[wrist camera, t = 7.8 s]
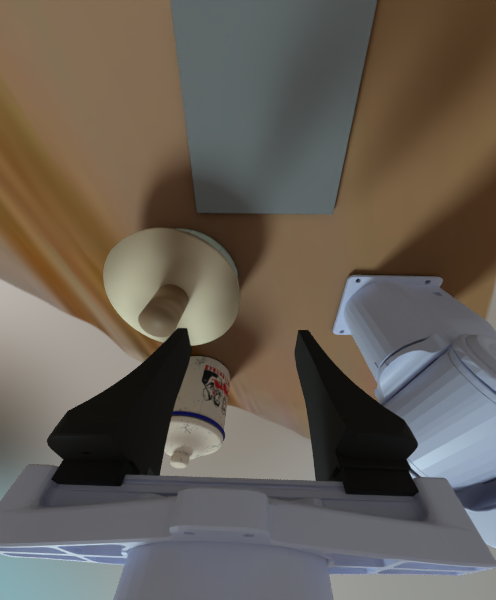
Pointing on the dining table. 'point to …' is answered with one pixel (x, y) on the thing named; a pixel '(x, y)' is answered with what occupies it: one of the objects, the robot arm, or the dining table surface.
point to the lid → (172, 285)
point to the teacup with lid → (198, 412)
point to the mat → (269, 99)
